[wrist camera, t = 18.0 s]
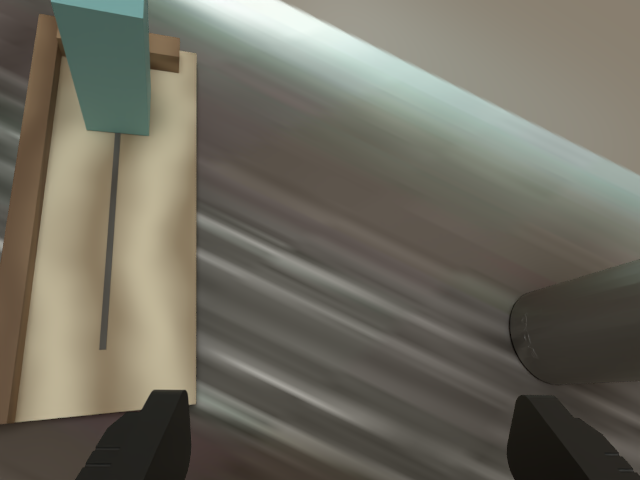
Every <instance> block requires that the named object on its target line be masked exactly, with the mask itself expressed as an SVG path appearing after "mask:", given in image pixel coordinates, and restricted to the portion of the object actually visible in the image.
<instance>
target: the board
mask: <svg viewBox="0 0 640 480" xmlns="http://www.w3.org/2000/svg"><path fill="white" fill-rule="evenodd" d="M149 51H150V78H151V102H150V126H149V136H144V135H134V134H123V133H113V132H102V131H92V130H87V129H86V126H85V122H84V119H83V115H82V111H81V108H80V104H79V101H78V97H77V94H76V90H75V86H74V83H73V79H72V76H71V72H70V68H69V65H68V61H67V58H66V54H65V51H64V47H63V43H62V40H61V36H60V33H59V29H58V25H57V22H56V18H55V16H49V15H43V14H39V19H38V26H37V32H36V38H35V45H34V51H33V58H32V64H31V70H30V77H29V83H28V90H27V96H26V102H25V109H24V115H23V122H22V128H21V134H20V141H19V147H18V154H17V160H16V166H15V173H14V179H13V186H12V192H11V199H10V205H9V211H8V218H7V224H6V231H5V237H4V243H3V250H2V256H1V263H0V424H7V423H15V422H24V421H34V420H44V419H54V418H64V417H74V416H83V415H93V414H103V413H113V412H123V411H133V410H142V408H143V406H144V404H145V402H146V401H147V399H148V397H149V395H150V393H151V392H152V391H153V390H186V391H187V393H188V401H189V405H192V404H196V53H190V52H184V51H180V38H175V37H169V36H164V35H158V34H152V33H149Z"/></svg>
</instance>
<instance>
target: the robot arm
mask: <svg viewBox="0 0 640 480" xmlns="http://www.w3.org/2000/svg"><path fill="white" fill-rule="evenodd" d="M510 332H511V338H512V342H513V345H514V348H515V350H516V352H517V354H518V356H519V358H520V360H521V361H522V363H523V364H524V366H525V367H526V368H527V369H528V370H529V371H530V372H531V373H532V374H533V375H534V376H536V377H537V378H539V379H540V380H542V381H544V382H547V383H549V384H555V385H562V384H584V383H609V382H631V381H640V259H639V260H635V261H632V262H629V263H625V264H622V265H619V266H615V267H612V268H609V269H605V270H602V271H599V272H595V273H592V274H589V275H586V276H582V277H579V278H576V279H572V280H569V281H566V282H562V283H559V284H555V285H552V286H549V287H546V288H542V289H539V290H536V291H533V292H529V293H526V294H525V295H523V296H522V297H520V298H519V300H518V301H517V302H516V303H515V305H514V308H513V310H512V313H511V318H510ZM190 455H191V432H190V416H189V401H188V393H187V391H186V390H153V391H152V392H151V393H150V395H149V397H148V399H147V401H146V402H145V404H144V406H143V408H142V410H141V411H140V412H127V413H125V414H124V415H123V416H122V417H120V418H119V419H118V420H117V421H116V422H114V423H113V424H112V425H111V426H110V427H108V428H107V430H106V432H105V433H104V435H103V436H102V438H101V440H100V441H99V443H98V444H97V446H96V450H95V451H93V452H92V454H91V455H90V457H89V459H88V460H87V462H86V465H85V468H82V470H81V471H80V473H79V475H78V476H77V478H76V479H75V480H185V477H186V474H187V471H188V467H189V462H190ZM507 459H508V464H509V468H510V471H511V473H512V475H513V477H514V479H515V480H640V476H639V475H638V474H637V473H634V472H633V468H632V467H631V466H630V465H629V464H628V462H627V461H626V460H625V459H624V458H623V457H620V456H619V453H618V451H617V450H616V449H615V448H614V447H613V446H612V445H611V444H610V443H609V441H608V440H607V439H606V438H605V437H604V436H603V435H602V434H601V433H600V432H598V431H597V430H595V429H594V428H592V427H591V426H589V425H588V424H587V423H585V422H584V421H582V420H581V419H579V418H573V416H572V415H571V414H570V413H569V412H568V411H567V409H566V408H565V407H564V406H563V405H562V404H561V403H560V401H559V400H558V399H557V398H556V397H554V396H542V395H521V396H519V397H518V398H517V400H516V404H515V409H514V414H513V419H512V424H511V429H510V434H509V439H508V444H507Z"/></svg>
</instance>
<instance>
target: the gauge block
mask: <svg viewBox="0 0 640 480" xmlns="http://www.w3.org/2000/svg"><path fill="white" fill-rule="evenodd" d="M51 4H52V8H53V11H54V15H55V18H56V22H57V25H58V29H59V33H60V36H61V40H62V43H63V47H64V51H65V54H66V58H67V61H68V65H69V68H70V72H71V76H72V79H73V83H74V86H75V90H76V94H77V97H78V101H79V104H80V108H81V111H82V115H83V119H84V122H85V126H86V129H87V130H92V131H102V132H113V133H123V134H134V135H144V136H149V126H150V102H151V78H150V51H149V25H148V0H51Z"/></svg>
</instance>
